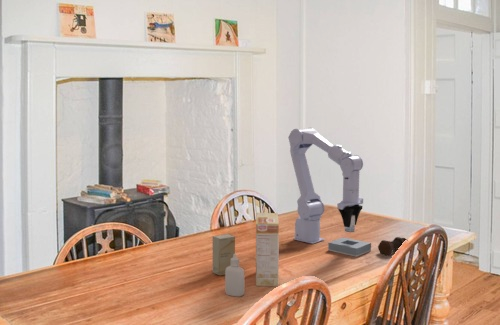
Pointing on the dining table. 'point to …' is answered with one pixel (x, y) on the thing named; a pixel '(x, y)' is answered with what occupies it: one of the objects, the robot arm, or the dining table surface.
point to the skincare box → (222, 252)
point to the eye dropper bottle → (234, 278)
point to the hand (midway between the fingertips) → (350, 225)
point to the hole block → (349, 246)
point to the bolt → (390, 245)
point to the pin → (351, 225)
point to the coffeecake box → (267, 249)
